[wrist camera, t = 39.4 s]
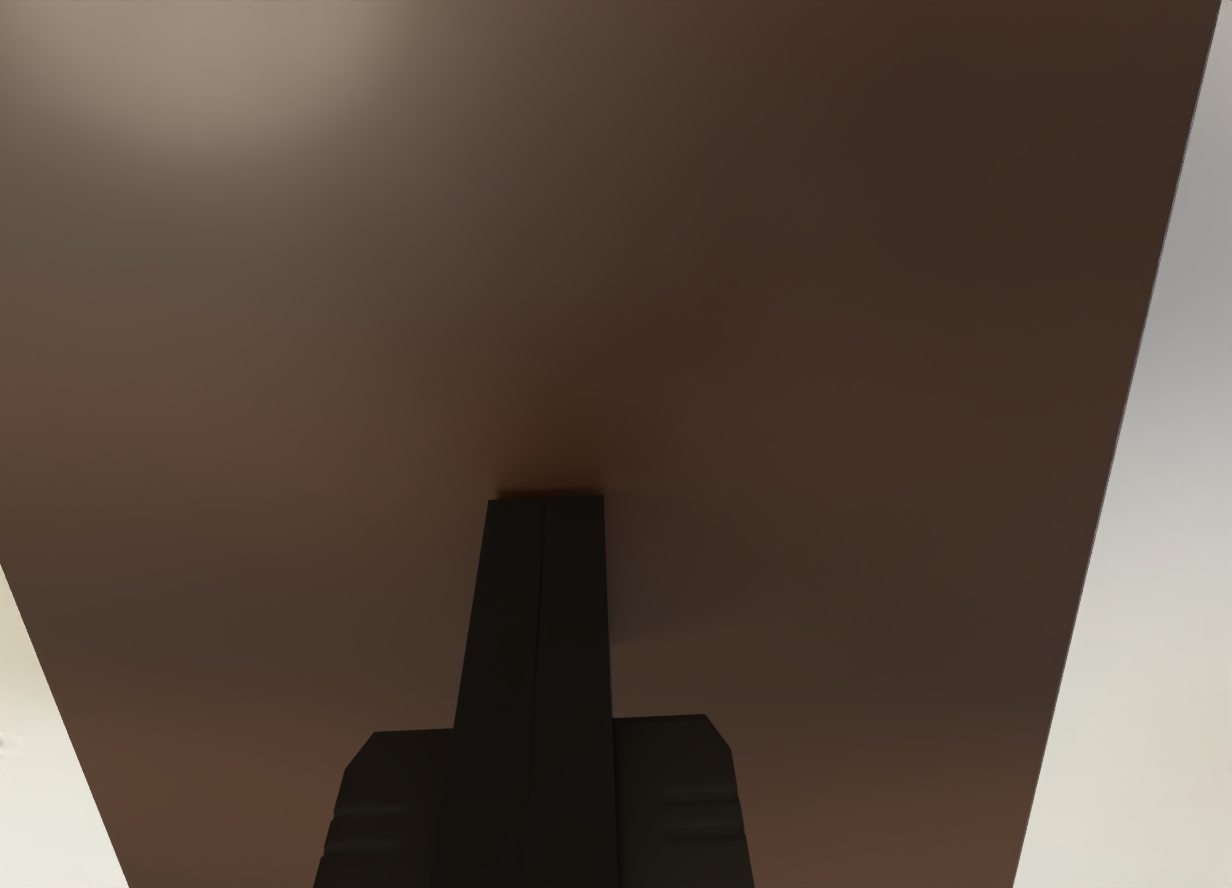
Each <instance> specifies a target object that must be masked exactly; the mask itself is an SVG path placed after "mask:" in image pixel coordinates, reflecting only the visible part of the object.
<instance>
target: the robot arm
mask: <svg viewBox="0 0 1232 888" xmlns="http://www.w3.org/2000/svg"><path fill="white" fill-rule="evenodd" d="M333 814H334V816H333V820H331V822H330V826H329V830H328V833H327V837H326V841H325V844H324V855H323V857H321V859H320V863H319V867H318V870H317V874H316V878H315V881H314V885H313V888H755V885H754V880H753V874H752V868H751V862H750V856H749V851H748V845H747V839H746V834H745V832H744V821H743V816H742V810H741V804H740V799H739V797H738V787H737V781H736V775H735V769H734V763H733V758H732V752H731V748H730V747H729V745H728V744H727V743H726V741H725V740H724V739H723V737H722V736H721V735H720V733H719V732H718V730H717V729H716V728H715V726H714V725H713V724H712V722H711V721H710V720H709V718H708V717H707V716H706V714H692V715H670V716H648V717H625V718H613V698H612V671H611V646H610V624H609V602H608V580H607V557H606V535H605V513H604V495H589V496H565V497H542V498H518V499H495V500H488V506H487V512H486V519H485V525H484V532H483V538H482V545H481V551H480V558H479V564H478V571H477V577H476V584H475V590H474V597H473V603H472V610H471V616H470V623H469V629H468V636H467V642H466V649H465V655H464V662H463V668H462V674H461V681H460V687H459V694H458V700H457V707H456V713H455V720H454V726H453V728H445V729H423V730H401V731H378V732H374V733H373V734H372V735H371V737H370V738H369V739H368V740H367V742H366V743H365V744H364V745H363V747H362V748H361V749H360V751H359V752H358V753H357V754H356V756H355V757H354V758H353V759H352V761H351V762H350V763H349V765H348V766H347V767H346V768H345V770H344V774H343V778H342V782H341V785H340V789H339V793H338V796H337V800H336V804H335V807H334V811H333Z"/></svg>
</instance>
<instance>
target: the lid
mask: <svg viewBox="0 0 1232 888" xmlns="http://www.w3.org/2000/svg"><path fill="white" fill-rule="evenodd" d="M1221 1H1222V0H0V564H1V566H2V569H3V572H4V574H5V577H6V579H7V582H8V584H9V587H10V589H11V592H12V594H13V597H14V599H15V602H16V604H17V607H18V609H19V612H20V614H21V617H22V619H23V622H24V624H25V627H26V629H27V632H28V634H29V637H30V639H31V642H32V644H33V647H34V649H35V652H36V654H37V657H38V659H39V662H40V665H41V667H42V670H43V672H44V675H45V677H46V680H47V682H48V685H49V687H50V690H51V692H52V695H53V697H54V700H55V702H56V705H57V707H58V710H59V712H60V715H61V717H62V720H63V722H64V725H65V727H66V730H67V732H68V735H69V737H70V740H71V742H72V745H73V747H74V750H75V752H76V755H77V758H78V760H79V763H80V765H81V768H82V770H83V773H84V775H85V778H86V780H87V783H88V785H89V788H90V790H91V793H92V795H93V798H94V800H95V803H96V805H97V808H98V810H99V813H100V815H101V818H102V820H103V823H104V825H105V828H106V830H107V833H108V835H109V838H110V840H111V843H112V845H113V848H114V851H115V853H116V856H117V858H118V861H119V863H120V866H121V868H122V871H123V873H124V876H125V878H126V881H127V883H128V886H129V888H313V885H314V881H315V878H316V874H317V870H318V867H319V863H320V859H321V857H323V855H324V844H325V841H326V837H327V833H328V830H329V826H330V822H331V820H333V816H334V814H333V811H334V807H335V804H336V800H337V796H338V793H339V789H340V785H341V782H342V778H343V774H344V770H345V768H346V767H347V766H348V765H349V763H350V762H351V761H352V759H353V758H354V757H355V756H356V754H357V753H358V752H359V751H360V749H361V748H362V747H363V745H364V744H365V743H366V742H367V740H368V739H369V738H370V737H371V735H372V734H373V733H374V732H378V731H401V730H423V729H445V728H453V726H454V720H455V713H456V707H457V700H458V694H459V687H460V681H461V674H462V668H463V662H464V655H465V649H466V642H467V636H468V629H469V623H470V616H471V610H472V603H473V597H474V590H475V584H476V577H477V571H478V564H479V558H480V551H481V545H482V538H483V532H484V525H485V519H486V512H487V506H488V500H495V499H518V498H542V497H565V496H589V495H604V513H605V535H606V557H607V580H608V602H609V624H610V646H611V671H612V698H613V718H625V717H648V716H670V715H692V714H706V716H707V717H708V718H709V720H710V721H711V722H712V724H713V725H714V726H715V728H716V729H717V730H718V732H719V733H720V735H721V736H722V737H723V739H724V740H725V741H726V743H727V744H728V745H729V747H730V748H731V752H732V758H733V763H734V769H735V775H736V781H737V787H738V797H739V799H740V804H741V810H742V816H743V821H744V832H745V834H746V839H747V845H748V851H749V856H750V862H751V868H752V874H753V880H754V885H755V888H1013V885H1014V881H1015V876H1016V872H1017V868H1018V864H1019V859H1020V855H1021V851H1022V847H1023V842H1024V838H1025V834H1026V830H1027V825H1028V821H1029V817H1030V813H1031V808H1032V804H1033V800H1034V796H1035V791H1036V787H1037V783H1038V779H1039V774H1040V770H1041V766H1042V762H1043V757H1044V753H1045V749H1046V745H1047V740H1048V736H1049V732H1050V728H1051V723H1052V719H1053V715H1054V711H1055V706H1056V702H1057V698H1058V694H1059V689H1060V685H1061V681H1062V677H1063V672H1064V668H1065V664H1066V660H1067V655H1068V651H1069V647H1070V643H1071V638H1072V634H1073V630H1074V626H1075V621H1076V617H1077V613H1078V609H1079V604H1080V600H1081V596H1082V592H1083V587H1084V583H1085V579H1086V575H1087V570H1088V566H1089V562H1090V558H1091V553H1092V549H1093V545H1094V541H1095V536H1096V532H1097V528H1098V524H1099V519H1100V515H1101V511H1102V507H1103V502H1104V498H1105V494H1106V490H1107V485H1108V481H1109V477H1110V473H1111V468H1112V464H1113V460H1114V456H1115V451H1116V447H1117V443H1118V439H1119V434H1120V430H1121V426H1122V422H1123V417H1124V413H1125V409H1126V405H1127V400H1128V396H1129V392H1130V388H1131V383H1132V379H1133V375H1134V371H1135V366H1136V362H1137V358H1138V354H1139V349H1140V345H1141V341H1142V337H1143V332H1144V328H1145V324H1146V320H1147V315H1148V311H1149V307H1150V303H1151V298H1152V294H1153V290H1154V286H1155V281H1156V277H1157V273H1158V269H1159V265H1160V260H1161V256H1162V252H1163V248H1164V243H1165V239H1166V235H1167V231H1168V226H1169V222H1170V218H1171V214H1172V209H1173V205H1174V201H1175V197H1176V192H1177V188H1178V184H1179V180H1180V175H1181V171H1182V167H1183V163H1184V158H1185V154H1186V150H1187V146H1188V141H1189V137H1190V133H1191V129H1192V124H1193V120H1194V116H1195V112H1196V107H1197V103H1198V99H1199V95H1200V90H1201V86H1202V82H1203V78H1204V73H1205V69H1206V65H1207V61H1208V56H1209V52H1210V48H1211V44H1212V39H1213V35H1214V31H1215V27H1216V22H1217V18H1218V14H1219V10H1220V5H1221Z"/></svg>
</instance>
